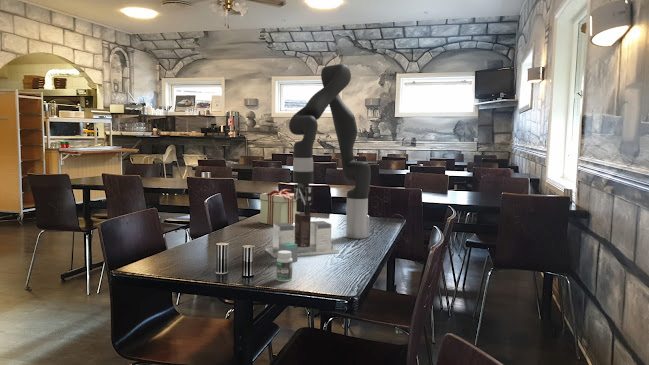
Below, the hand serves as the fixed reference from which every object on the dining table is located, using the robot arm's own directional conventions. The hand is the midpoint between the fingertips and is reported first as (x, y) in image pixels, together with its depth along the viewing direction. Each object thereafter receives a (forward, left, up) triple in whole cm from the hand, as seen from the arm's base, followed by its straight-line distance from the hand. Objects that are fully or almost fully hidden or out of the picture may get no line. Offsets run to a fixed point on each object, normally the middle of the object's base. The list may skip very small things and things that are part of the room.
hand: (303, 213), depth 179 cm
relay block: (+10, +12, -15) cm, 21 cm away
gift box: (-12, -64, -15) cm, 67 cm away
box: (0, 0, -13) cm, 13 cm away
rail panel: (0, 0, -15) cm, 15 cm away
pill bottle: (+18, +33, -15) cm, 40 cm away
